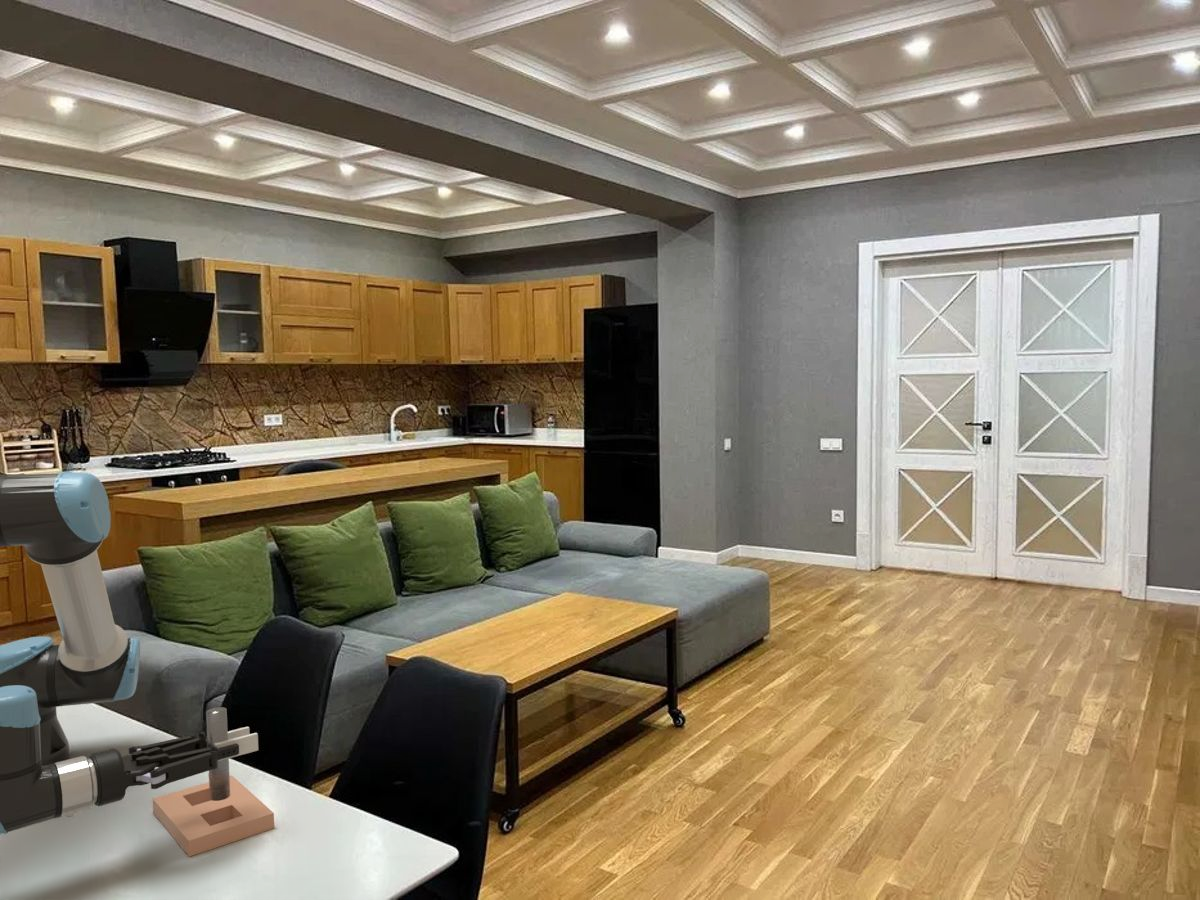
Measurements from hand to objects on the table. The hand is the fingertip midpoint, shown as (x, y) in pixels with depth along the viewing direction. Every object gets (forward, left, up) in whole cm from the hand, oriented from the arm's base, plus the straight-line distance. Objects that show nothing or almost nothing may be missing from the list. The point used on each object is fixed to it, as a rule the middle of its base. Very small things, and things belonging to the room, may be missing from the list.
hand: (252, 738), depth 146 cm
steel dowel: (0, -5, -8) cm, 10 cm away
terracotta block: (-5, -5, -14) cm, 15 cm away
